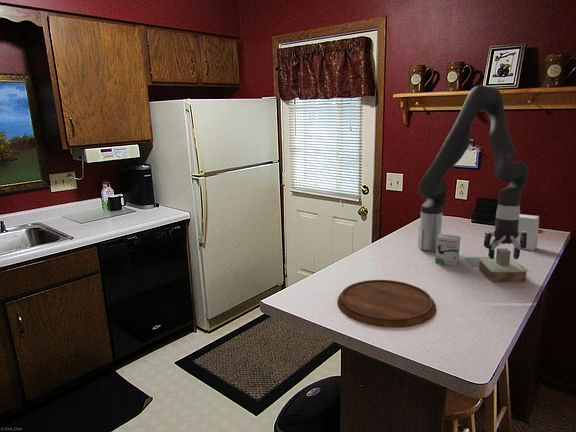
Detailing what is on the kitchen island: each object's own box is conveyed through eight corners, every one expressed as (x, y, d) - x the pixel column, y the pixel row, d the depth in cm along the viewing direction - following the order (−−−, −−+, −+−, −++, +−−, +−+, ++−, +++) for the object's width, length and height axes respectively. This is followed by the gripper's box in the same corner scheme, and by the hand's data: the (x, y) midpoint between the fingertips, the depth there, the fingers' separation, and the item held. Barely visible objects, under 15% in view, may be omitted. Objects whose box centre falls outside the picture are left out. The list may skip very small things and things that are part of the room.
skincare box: (537, 248, 187) (541, 216, 183) (532, 251, 183) (536, 218, 179) (516, 244, 193) (520, 213, 189) (512, 247, 189) (515, 215, 185)
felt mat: (472, 268, 166) (472, 266, 166) (463, 258, 177) (463, 257, 177) (500, 268, 165) (500, 266, 165) (489, 258, 176) (489, 257, 176)
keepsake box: (490, 283, 152) (491, 271, 150) (478, 271, 163) (479, 260, 162) (525, 283, 151) (526, 271, 149) (510, 271, 162) (511, 260, 161)
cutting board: (366, 278, 161) (366, 272, 160) (450, 299, 141) (450, 292, 140) (318, 309, 137) (318, 302, 136) (411, 340, 117) (411, 332, 117)
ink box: (434, 264, 172) (436, 236, 169) (436, 260, 176) (438, 233, 173) (457, 267, 168) (459, 239, 165) (458, 263, 172) (460, 235, 169)
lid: (491, 272, 150) (493, 255, 149) (478, 260, 162) (480, 244, 161) (527, 272, 149) (529, 255, 148) (511, 260, 161) (513, 244, 160)
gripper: (491, 219, 148) (487, 262, 152) (533, 218, 147) (528, 262, 151) (483, 214, 155) (480, 255, 159) (523, 213, 154) (518, 255, 158)
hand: (503, 258), depth 155 cm, fingers open, 8 cm apart
